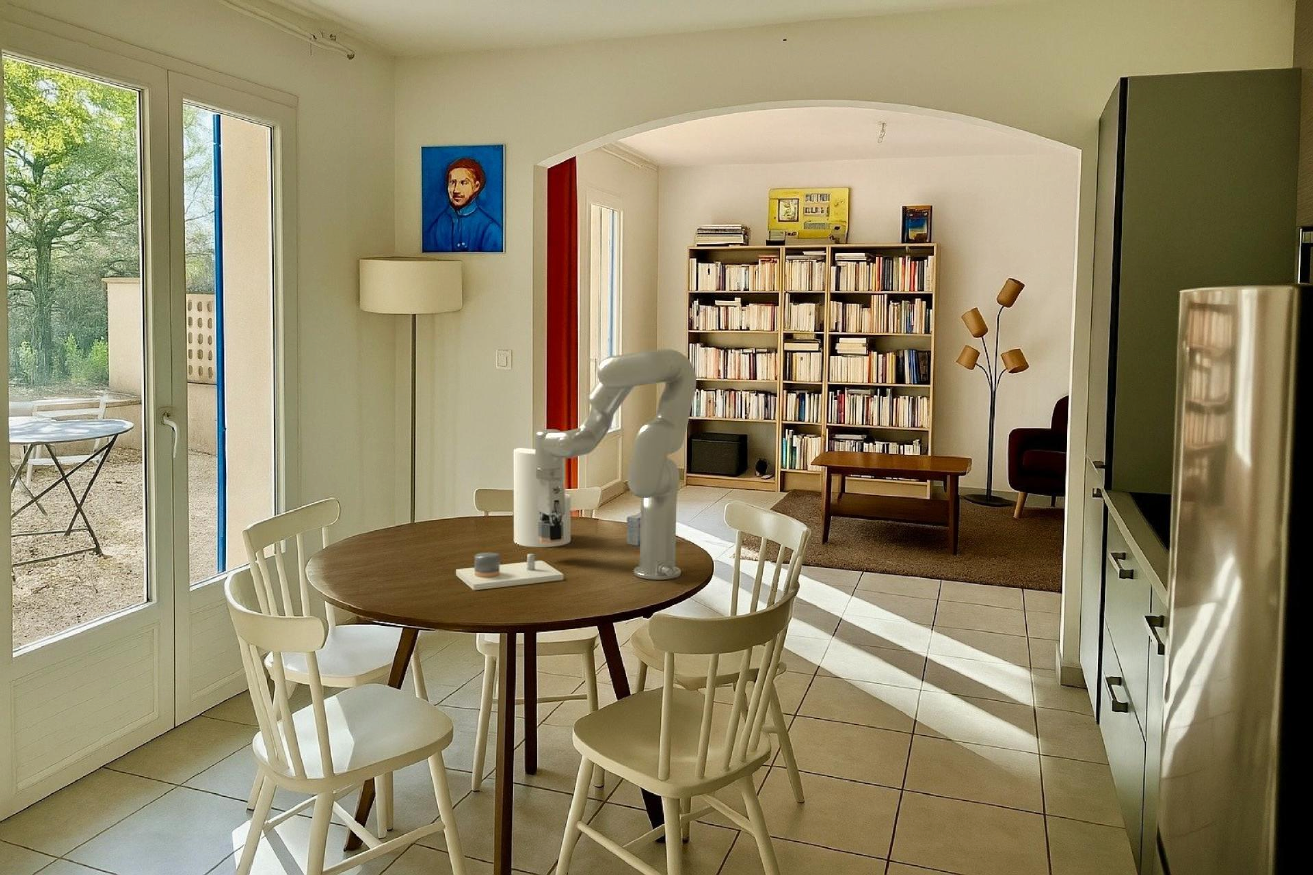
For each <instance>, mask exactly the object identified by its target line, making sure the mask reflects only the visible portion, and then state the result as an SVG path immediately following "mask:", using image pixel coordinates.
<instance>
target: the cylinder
mask: <svg viewBox="0 0 1313 875" xmlns="http://www.w3.org/2000/svg"><path fill="white" fill-rule="evenodd" d="M562 482H563V488H564V498H565V514H564V515H563V516H562V520H561V521H562V522H563V540H562V541H559V542H541V541H539V535H538V522H540V511H539V510H538V480H536V455H535V449H534V448H527V447H517V448H514V449H513V543H514V544H516V543H517V544H516V545H518V544H519V546H522V547H523V546H524V547H531V548H551V547H560V546H563V545H567V544H569V543H570V542H571V532H572V531H571V530H572V529H571V528H572V527H571V526H572V525H571V521H572V520H571V517H572V515H571V512H572V511H571V510H572V509H571V508H572V506H571V504H572V502H571V500H572V497H571V494H569V493H567V492H566V458H563V479H562ZM552 514H556V513H552ZM554 518H555V517H553V520H554Z"/></svg>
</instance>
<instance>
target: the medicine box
mask: <svg viewBox="0 0 1313 875" xmlns="http://www.w3.org/2000/svg"><path fill="white" fill-rule="evenodd" d="M640 514H641V513H639V514H638V513H637V514H634V515H629V516H627V517H626V544H627V545H629V546H636V547H640Z"/></svg>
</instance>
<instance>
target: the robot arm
mask: <svg viewBox="0 0 1313 875" xmlns="http://www.w3.org/2000/svg"><path fill="white" fill-rule="evenodd" d="M691 362H692V361H690V359H688V358H687V356H686V355H685V354H683V353H682V352H679V351H678V350H675V349H670V348H664V349H663V348H662V349H651V350H644V351H638V352H631V353H625V354H619V355H611V356H608V357H606V358H604V359H603V360H602V361H601V362H600V364H599V365H598V368H597V373H596V374H597V378H598V382H597V384H596V385H595V386H594V387H593V388H592V390H591V391H590V392H589V394H588V395H587V396H588V397H587V400H588V403H589V404H590V406H591V407H590V410H589V413H588V415H587V417H586V418H585V420H584V421H583V422H582V423H581V424H580V426H579V427H578V428H574V429H571V430H564V431H561V430H558V429H553V428H552V429H551V428H550V429H549V428H548V429H539V430H537V431H536V432H535V436H534V443H535V444H534V446H535V447H534V448H535V455H536V480H538V510H539V511H540V522H541V521H545V520H550V522H551V526H550V540H559V539H561V524H562V523H561V520H562V516H563V515H564V514H565V498H564V488H563V482H562V479H563V458H565V459H573V458H577V457H580V456H584V455H588V454H590V453H592V452H593V451H594V450H595V449H596V448H597V447H598V446H599V444H600V443H601V442H602V440H603V439H604V438H605V436H606V434H608V431H610V428H611V425H612V422H613V420H614V416H615V414H616V412H617V410H618V409H619V408H620V407H621V405H622V404H623V402H624V401H625V400H626V398H627V397H628V396H629V394H630V393H631V391H632V390H633V389H634V388H635V387H637V386H645V385H654V384H655V385H656V384H658V383H659V384H660V383H664V388H663V390H662V393H661V396H660V398H659V401H658V405H657V410H656V414H655V417H654V420H651V421H647V422H646V423H645V424H643V425H642V426H641V427H640V428H639V430H638V432H637V433H636V436H635V440H634V442H633V447H632V451H631V455H630V461H629V464H628V469H627V474H626V475H627V477H626V481H627V482H626V483H627V486H628V488H629V490H630V492H631V493H632V494H633V495H634V496H636V497H638V498H641V501H640V502H641V503H640V513H639V514H640V546H639V566H636V567H635V568H634V569H633V574H634V576H636V577H637V578H642V579H646V580H653V581H654V580H655V581H656V580H658V581H659V580H671V579H675V578H678V577H680V576H681V574H682V570H681V569H680V568H679V567H677V566H676V545H677V544H676V543H677V539H676V538H677V537H676V536H677V535H676V534H677V504H678V503H677V502H678V492H679V487H680V477H681V476H680V470H679V468H678V467H679V466H677V463H675V461H673V460H672V459H671V458H669V457H668V456H669V455H672V454H674V453H676V452H679V450H680V449H681V448H682V447H683V445H684V442H685V437H686V434H687V433H686V432H687V427H688V423H689V419H690V414H691V409H692V405H693V402H694V398H695V397H694V396H695V393H696V388H697V375H696V374H697V373H696V370H695V368H694V366H693V364H692V363H691ZM552 513H556V514H552ZM553 517H555V518H554V521H553Z"/></svg>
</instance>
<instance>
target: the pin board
mask: <svg viewBox="0 0 1313 875" xmlns="http://www.w3.org/2000/svg"><path fill="white" fill-rule="evenodd" d="M473 557H474V567H469V568H468V567H467V568H458V569H457V568H456V569H455V575H456V576H457V577H458V578H459V579H460V580H461V581H463V583H464V584H466V585H467V586H468V587H470V589H472V590H473V591H478V590H485V589H486V590H487V589H488V590H489V589H496V588H504V587H513V586H520V585H521V586H523V585H530V584H540V583H548V582H555V581H564V573H562V572H561V571H559V570H557V569H556V568H554V567H553V566H551V565H549V563H546V562H545V561H543V560H536V554H535V553H527V554H526V557H527V559H526V561H525V562H524V561H522V562H515V563H514V562H513V563H506V564H505V563H504V564H500V560H501V559H500V558H501V557H500V553H496V552H478V553H475V555H474V556H473Z"/></svg>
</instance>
